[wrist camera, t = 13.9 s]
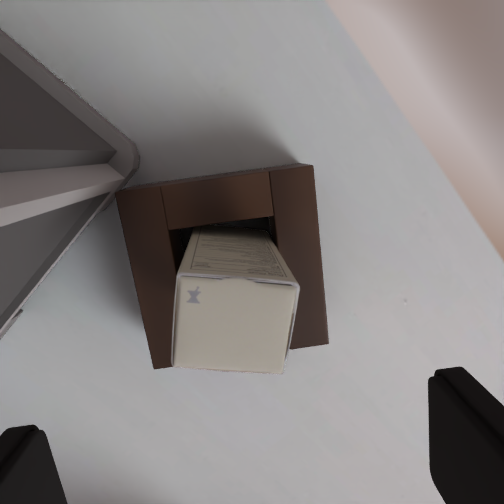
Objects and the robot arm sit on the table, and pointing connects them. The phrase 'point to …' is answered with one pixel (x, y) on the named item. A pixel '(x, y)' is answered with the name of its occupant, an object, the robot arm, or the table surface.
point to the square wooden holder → (219, 211)
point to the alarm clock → (48, 172)
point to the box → (233, 303)
